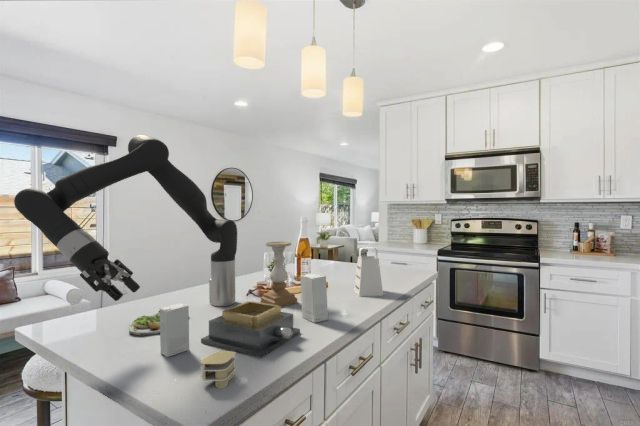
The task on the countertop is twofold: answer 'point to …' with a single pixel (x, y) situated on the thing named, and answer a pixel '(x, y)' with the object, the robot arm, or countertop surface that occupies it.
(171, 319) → the skincare box
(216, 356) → the tan layered stack
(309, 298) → the skincare box
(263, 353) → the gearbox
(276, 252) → the candle holder
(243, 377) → the countertop surface
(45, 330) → the countertop surface
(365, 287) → the grater
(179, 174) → the robot arm
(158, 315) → the salad plate
